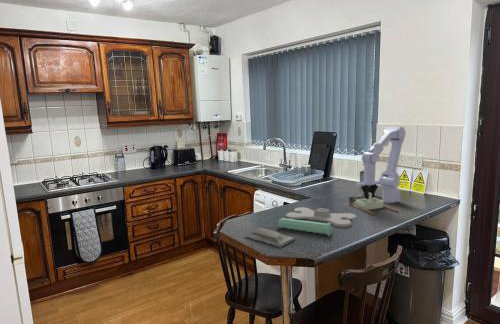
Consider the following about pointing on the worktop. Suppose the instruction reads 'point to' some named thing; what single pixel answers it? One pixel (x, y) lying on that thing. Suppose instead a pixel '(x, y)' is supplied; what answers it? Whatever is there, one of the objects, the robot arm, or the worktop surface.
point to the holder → (322, 216)
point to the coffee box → (362, 181)
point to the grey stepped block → (272, 236)
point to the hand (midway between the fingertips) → (369, 198)
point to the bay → (354, 198)
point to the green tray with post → (370, 203)
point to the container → (306, 226)
